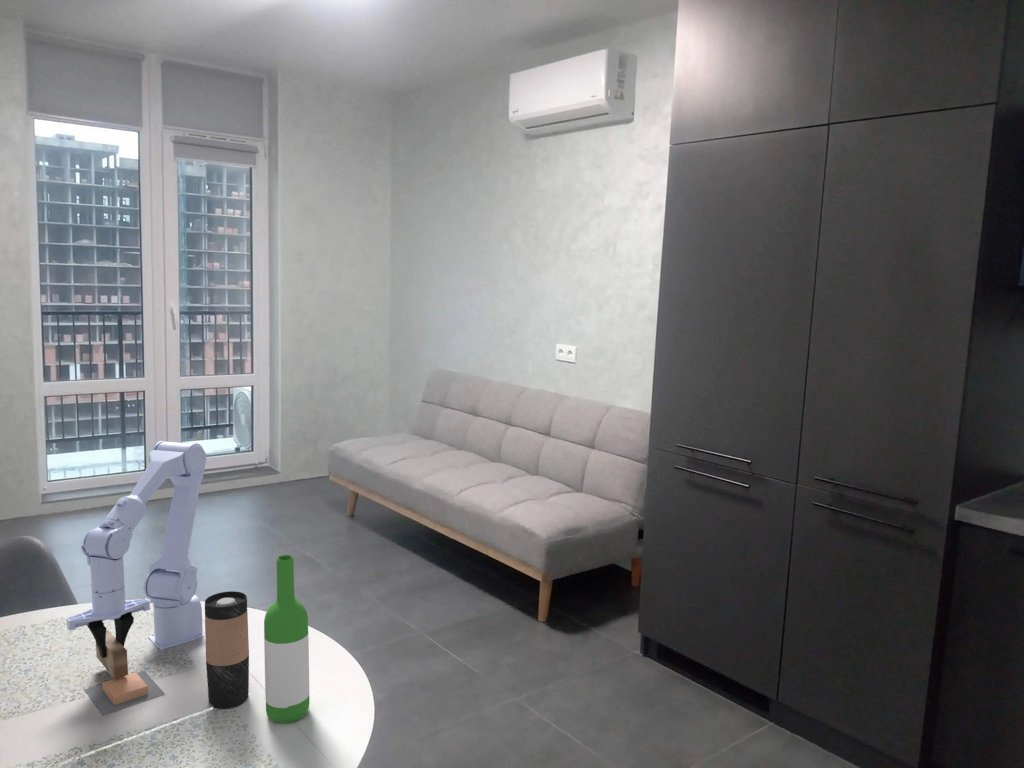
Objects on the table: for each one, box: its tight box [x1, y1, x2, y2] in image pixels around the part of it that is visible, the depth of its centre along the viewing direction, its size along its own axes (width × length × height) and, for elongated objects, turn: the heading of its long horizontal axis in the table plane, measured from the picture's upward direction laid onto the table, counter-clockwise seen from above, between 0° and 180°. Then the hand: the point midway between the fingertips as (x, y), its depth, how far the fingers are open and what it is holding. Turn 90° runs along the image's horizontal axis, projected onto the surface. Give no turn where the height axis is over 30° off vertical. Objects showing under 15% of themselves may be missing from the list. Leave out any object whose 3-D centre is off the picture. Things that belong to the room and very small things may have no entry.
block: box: [101, 671, 148, 705], centre depth 145 cm, size 6×2×7 cm
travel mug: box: [204, 590, 250, 710], centre depth 143 cm, size 8×8×20 cm
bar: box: [95, 629, 129, 679], centre depth 150 cm, size 12×2×5 cm, turn 44°
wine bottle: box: [263, 554, 310, 724], centre depth 138 cm, size 8×8×30 cm
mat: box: [83, 670, 166, 717], centre depth 145 cm, size 11×12×1 cm
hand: (111, 653), depth 150 cm, fingers closed on bar, 2 cm apart
